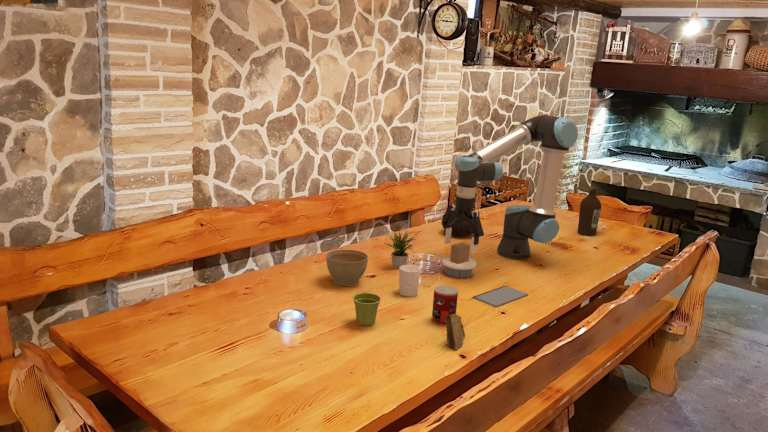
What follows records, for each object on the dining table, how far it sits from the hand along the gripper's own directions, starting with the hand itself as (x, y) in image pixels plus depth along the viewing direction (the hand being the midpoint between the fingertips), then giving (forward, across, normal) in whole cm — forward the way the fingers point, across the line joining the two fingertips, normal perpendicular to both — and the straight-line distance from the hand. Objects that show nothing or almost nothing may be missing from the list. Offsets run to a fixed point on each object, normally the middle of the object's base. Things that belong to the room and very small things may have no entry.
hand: (460, 247), depth 252 cm
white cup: (+13, +2, -31) cm, 33 cm away
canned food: (+13, +26, -38) cm, 48 cm away
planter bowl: (+13, -20, -43) cm, 49 cm away
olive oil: (+11, -3, +108) cm, 109 cm away
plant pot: (+13, +12, -61) cm, 63 cm away
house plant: (+12, -19, -15) cm, 27 cm away
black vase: (+12, -39, +46) cm, 62 cm away
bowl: (+12, 0, 0) cm, 12 cm away
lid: (+7, 0, 0) cm, 7 cm away
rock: (+13, +40, -47) cm, 63 cm away
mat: (+12, +20, -4) cm, 24 cm away
